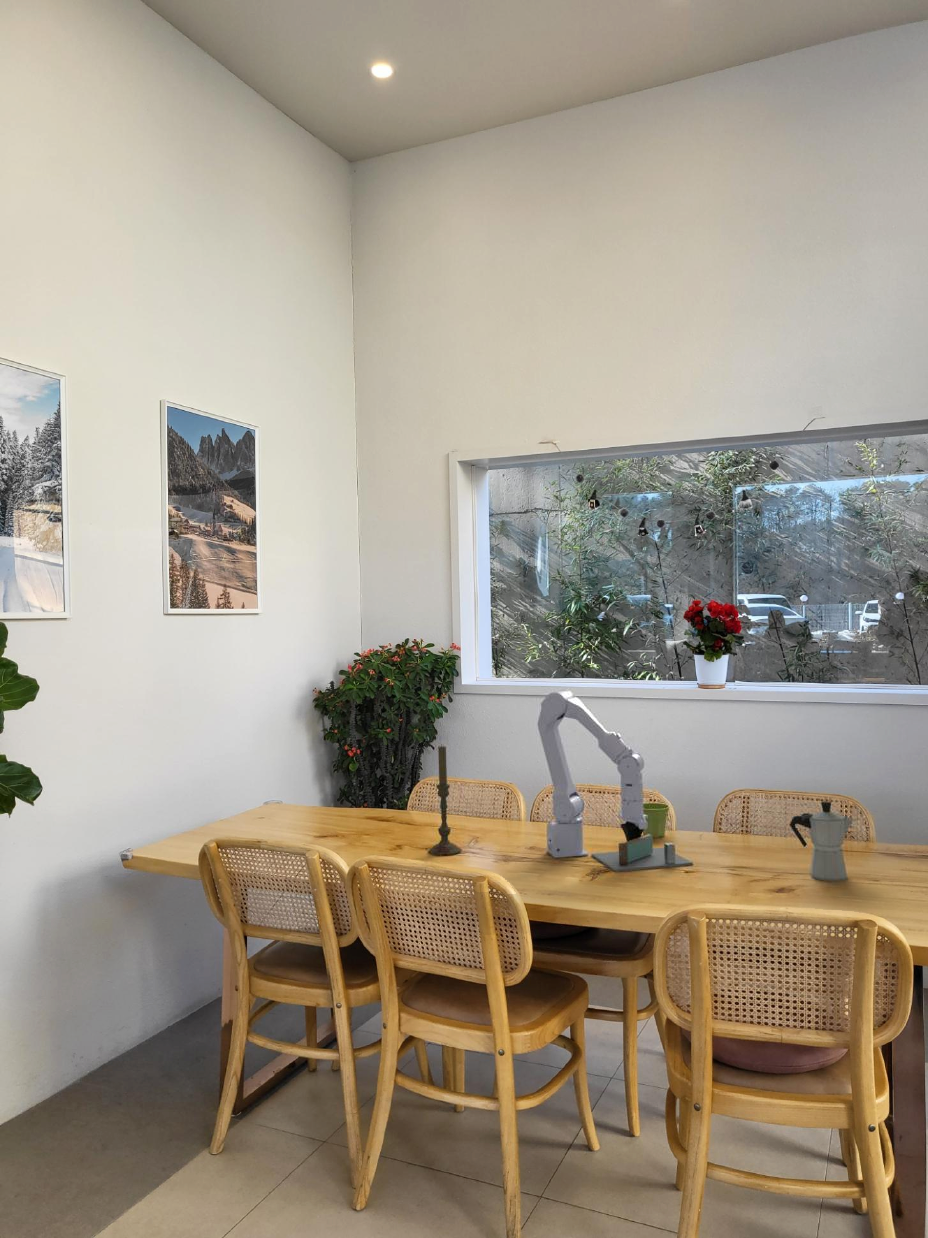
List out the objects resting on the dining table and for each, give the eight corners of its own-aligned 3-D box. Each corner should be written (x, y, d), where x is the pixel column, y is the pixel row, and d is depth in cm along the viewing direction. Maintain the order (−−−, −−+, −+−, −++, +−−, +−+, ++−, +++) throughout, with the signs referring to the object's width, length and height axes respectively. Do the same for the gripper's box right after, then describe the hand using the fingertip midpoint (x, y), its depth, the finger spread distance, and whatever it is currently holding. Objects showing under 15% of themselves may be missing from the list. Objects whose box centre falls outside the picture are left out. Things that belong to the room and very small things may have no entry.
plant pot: (670, 839, 267) (669, 809, 267) (637, 839, 269) (636, 808, 269) (670, 832, 276) (669, 802, 276) (637, 831, 278) (637, 802, 278)
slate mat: (615, 872, 234) (615, 869, 234) (591, 856, 250) (591, 853, 250) (692, 865, 239) (692, 862, 239) (664, 849, 255) (664, 847, 255)
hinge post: (621, 868, 237) (620, 845, 237) (618, 866, 239) (617, 843, 239) (628, 868, 237) (627, 844, 237) (625, 866, 239) (624, 842, 239)
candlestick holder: (423, 855, 257) (420, 745, 257) (435, 847, 265) (432, 741, 265) (454, 857, 254) (451, 746, 254) (466, 849, 262) (463, 742, 262)
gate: (628, 862, 239) (627, 842, 239) (624, 862, 239) (623, 842, 240) (652, 853, 248) (652, 834, 248) (648, 852, 248) (648, 833, 248)
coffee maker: (853, 872, 228) (851, 798, 228) (860, 882, 219) (857, 805, 219) (788, 870, 231) (786, 797, 231) (793, 880, 222) (790, 804, 222)
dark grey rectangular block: (668, 866, 238) (667, 845, 238) (664, 864, 240) (664, 843, 240) (675, 865, 238) (674, 844, 238) (671, 864, 240) (671, 842, 240)
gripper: (657, 803, 240) (659, 856, 240) (635, 793, 255) (636, 843, 255) (632, 805, 239) (633, 858, 239) (610, 795, 253) (612, 845, 253)
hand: (633, 851), depth 247 cm, fingers closed
